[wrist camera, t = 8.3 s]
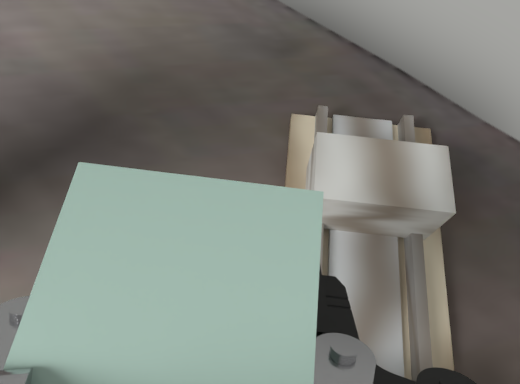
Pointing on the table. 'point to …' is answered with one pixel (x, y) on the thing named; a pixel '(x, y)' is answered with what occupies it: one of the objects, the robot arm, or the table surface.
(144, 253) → the sage module
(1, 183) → the table surface
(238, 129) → the table surface
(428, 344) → the rail board
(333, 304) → the robot arm
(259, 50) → the table surface
